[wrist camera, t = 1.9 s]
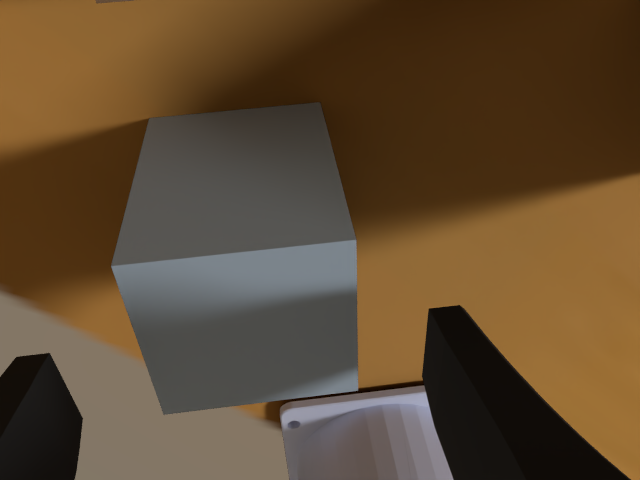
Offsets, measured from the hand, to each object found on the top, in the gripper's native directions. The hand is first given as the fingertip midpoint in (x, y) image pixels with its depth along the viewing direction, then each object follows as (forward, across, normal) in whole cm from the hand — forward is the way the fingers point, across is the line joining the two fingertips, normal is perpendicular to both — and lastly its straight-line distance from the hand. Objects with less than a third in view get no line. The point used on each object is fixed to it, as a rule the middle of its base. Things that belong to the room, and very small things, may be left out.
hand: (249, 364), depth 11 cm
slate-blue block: (+7, 0, 0) cm, 7 cm away
